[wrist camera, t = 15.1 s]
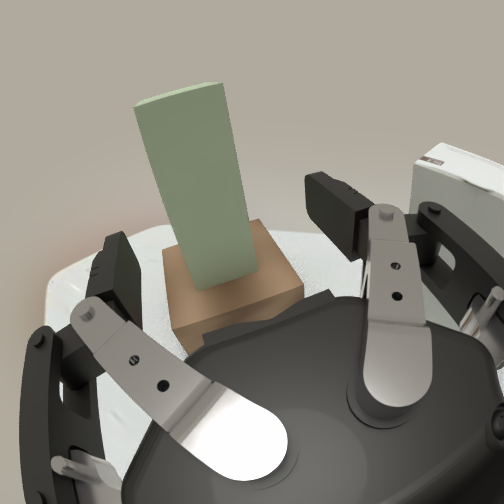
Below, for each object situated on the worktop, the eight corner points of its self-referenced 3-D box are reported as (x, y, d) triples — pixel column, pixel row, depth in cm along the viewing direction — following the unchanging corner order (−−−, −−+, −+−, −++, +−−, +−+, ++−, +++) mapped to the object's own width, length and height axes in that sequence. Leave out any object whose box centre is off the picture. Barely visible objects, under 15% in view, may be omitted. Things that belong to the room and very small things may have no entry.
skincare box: (475, 327, 18) (542, 182, 9) (450, 374, 16) (546, 218, 7) (410, 284, 24) (442, 136, 15) (378, 322, 22) (412, 154, 12)
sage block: (240, 237, 26) (207, 82, 17) (258, 270, 22) (222, 82, 13) (188, 254, 25) (139, 101, 16) (197, 291, 21) (133, 107, 12)
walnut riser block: (264, 256, 31) (258, 218, 28) (304, 323, 23) (303, 284, 20) (178, 285, 29) (162, 249, 26) (193, 363, 22) (171, 329, 18)
